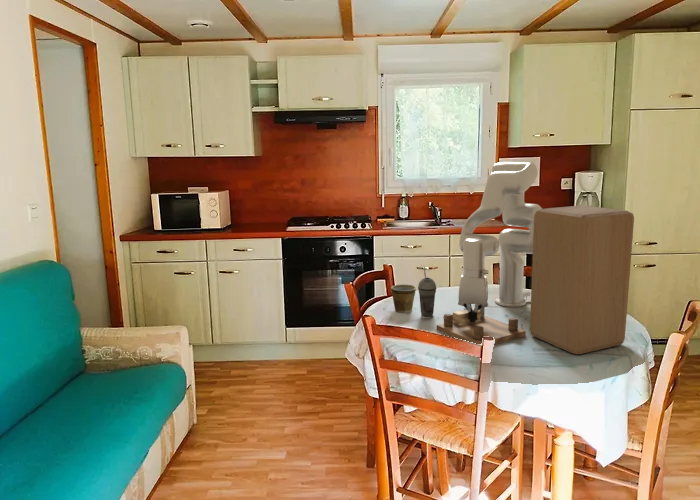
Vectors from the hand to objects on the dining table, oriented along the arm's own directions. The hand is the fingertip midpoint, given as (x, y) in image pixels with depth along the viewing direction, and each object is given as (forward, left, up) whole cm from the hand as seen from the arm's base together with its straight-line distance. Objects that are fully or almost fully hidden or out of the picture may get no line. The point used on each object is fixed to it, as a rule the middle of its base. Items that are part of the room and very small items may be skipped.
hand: (472, 321), depth 199 cm
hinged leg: (0, -4, -1) cm, 4 cm away
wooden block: (-21, +28, -3) cm, 35 cm away
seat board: (+1, +5, -3) cm, 6 cm away
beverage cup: (+5, -21, -3) cm, 22 cm away
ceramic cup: (+9, -33, -3) cm, 35 cm away
